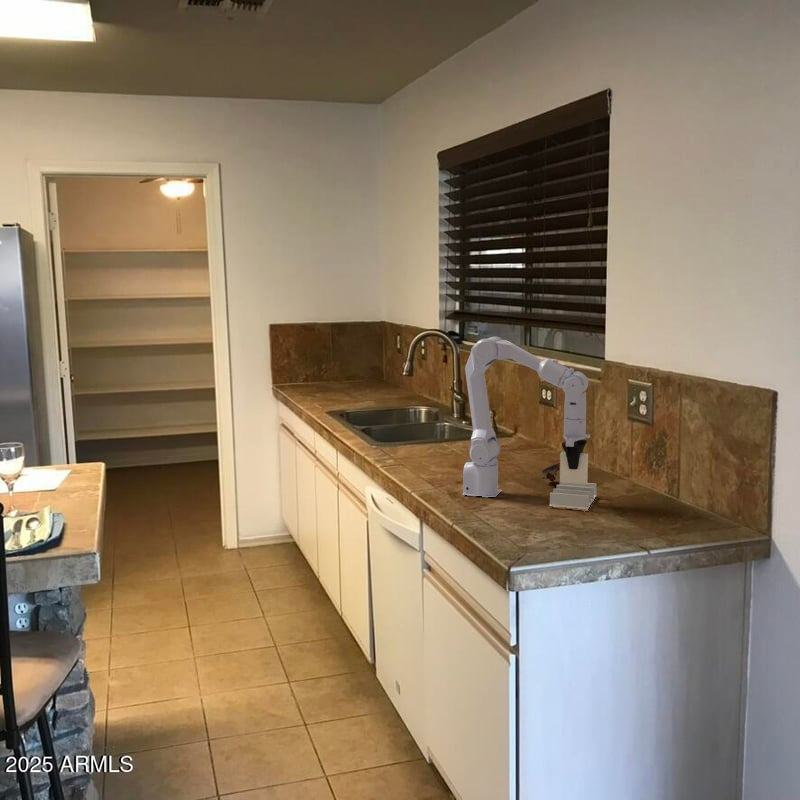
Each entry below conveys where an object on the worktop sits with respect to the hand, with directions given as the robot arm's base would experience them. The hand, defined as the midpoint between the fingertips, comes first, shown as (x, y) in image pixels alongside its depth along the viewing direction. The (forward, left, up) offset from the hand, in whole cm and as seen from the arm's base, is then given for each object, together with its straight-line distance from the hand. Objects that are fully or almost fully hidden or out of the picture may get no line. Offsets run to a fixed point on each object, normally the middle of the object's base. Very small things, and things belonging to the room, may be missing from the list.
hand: (574, 467), depth 232 cm
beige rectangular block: (0, 0, -4) cm, 4 cm away
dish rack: (0, 0, -10) cm, 10 cm away
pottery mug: (-6, +18, -10) cm, 22 cm away
